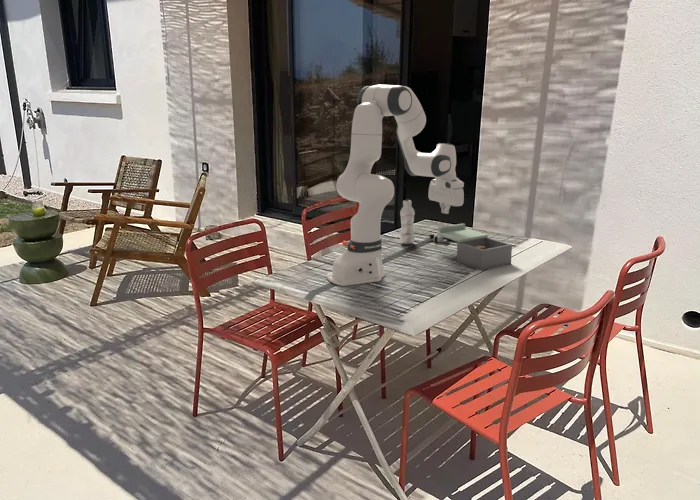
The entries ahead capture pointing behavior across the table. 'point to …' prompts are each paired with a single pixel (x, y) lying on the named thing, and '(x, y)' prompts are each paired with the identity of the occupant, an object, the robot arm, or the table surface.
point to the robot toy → (437, 238)
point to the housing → (484, 253)
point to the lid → (460, 233)
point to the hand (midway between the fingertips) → (445, 213)
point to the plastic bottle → (407, 223)
